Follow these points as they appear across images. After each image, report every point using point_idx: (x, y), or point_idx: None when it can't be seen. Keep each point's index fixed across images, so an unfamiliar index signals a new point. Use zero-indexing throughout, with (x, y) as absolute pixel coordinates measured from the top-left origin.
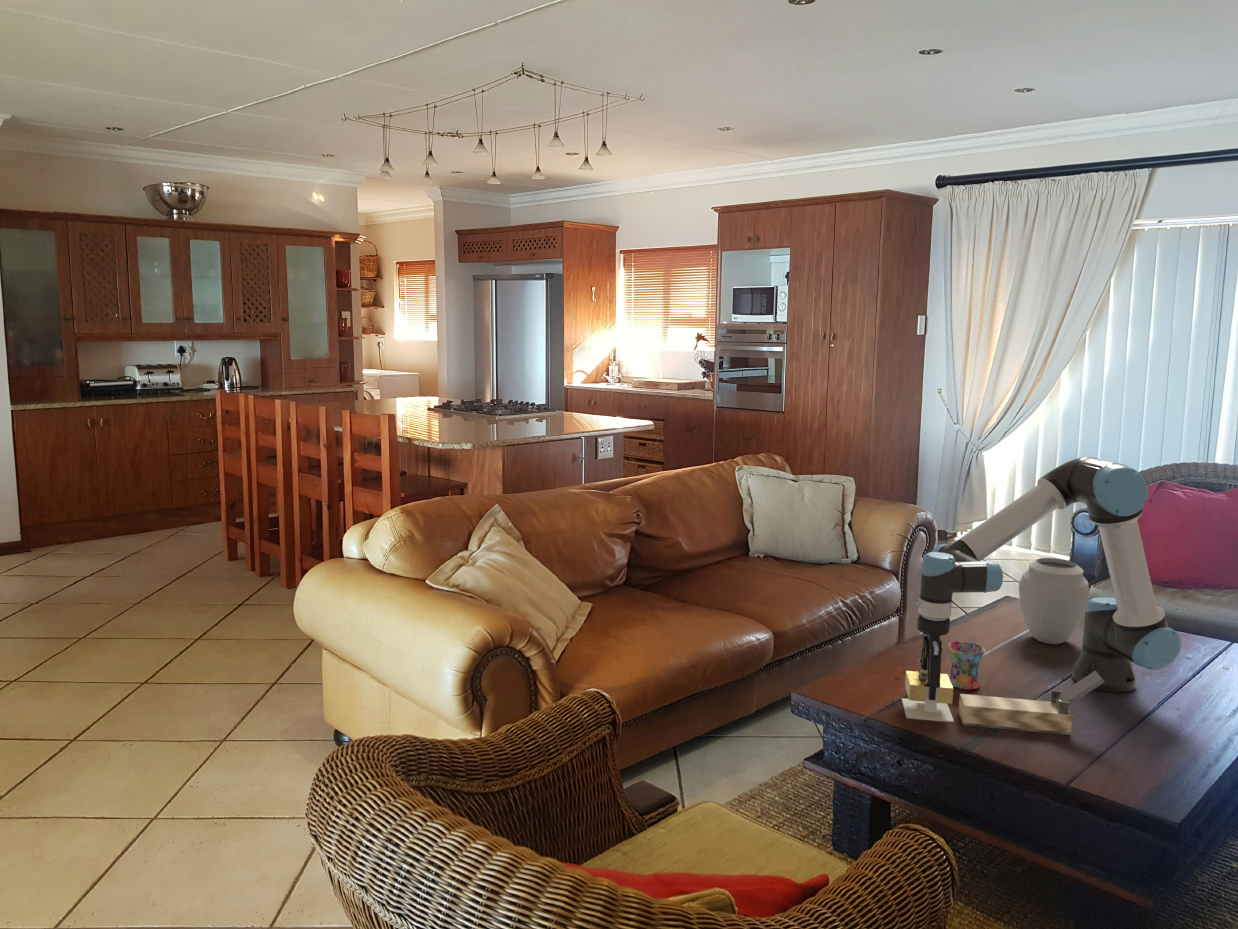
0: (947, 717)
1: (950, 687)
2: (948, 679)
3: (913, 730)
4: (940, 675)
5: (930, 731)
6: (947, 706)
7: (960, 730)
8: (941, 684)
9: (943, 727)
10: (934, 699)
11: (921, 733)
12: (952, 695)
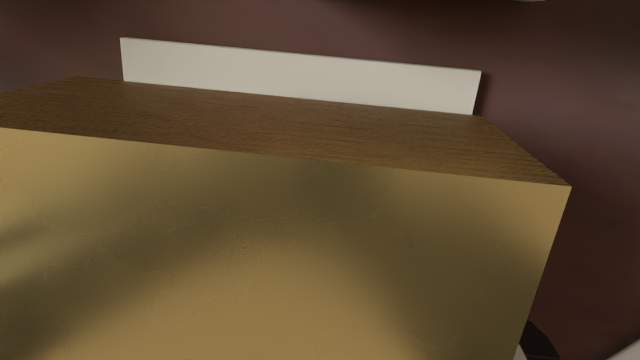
0: (417, 107)
1: (519, 223)
2: (144, 163)
3: (585, 349)
4: (4, 245)
5: (611, 264)
6: (203, 53)
7: (621, 52)
8: (392, 324)
9: (556, 167)
10: (537, 337)
11: (633, 319)
12: (519, 149)
